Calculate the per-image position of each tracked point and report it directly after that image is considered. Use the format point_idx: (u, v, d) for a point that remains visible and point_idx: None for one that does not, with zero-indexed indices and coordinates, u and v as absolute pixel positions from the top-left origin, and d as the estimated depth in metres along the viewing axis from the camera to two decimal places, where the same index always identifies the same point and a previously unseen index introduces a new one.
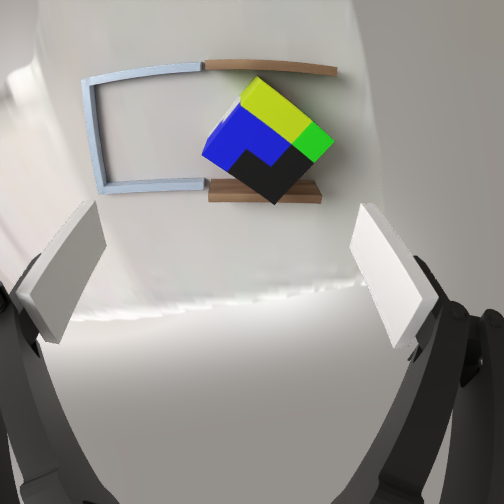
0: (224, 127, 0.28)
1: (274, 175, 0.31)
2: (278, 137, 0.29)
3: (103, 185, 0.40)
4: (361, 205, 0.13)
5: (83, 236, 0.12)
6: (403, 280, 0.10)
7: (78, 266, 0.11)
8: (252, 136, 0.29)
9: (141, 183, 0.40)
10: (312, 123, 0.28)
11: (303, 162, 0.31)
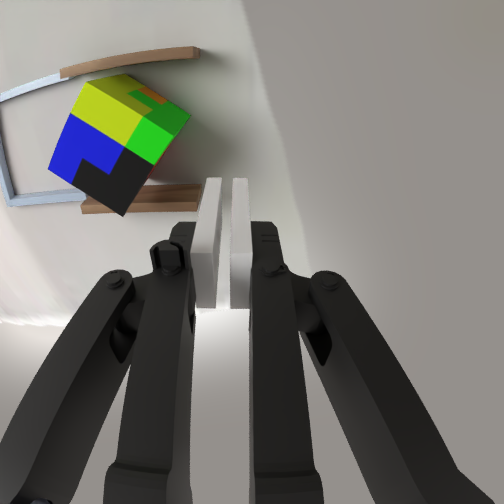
0: (60, 138, 0.22)
1: (114, 183, 0.26)
2: (110, 141, 0.23)
3: (9, 198, 0.34)
4: (233, 180, 0.15)
5: (219, 208, 0.14)
6: None
7: (218, 235, 0.14)
8: (85, 143, 0.23)
9: (36, 196, 0.34)
10: (143, 118, 0.22)
11: (142, 166, 0.25)
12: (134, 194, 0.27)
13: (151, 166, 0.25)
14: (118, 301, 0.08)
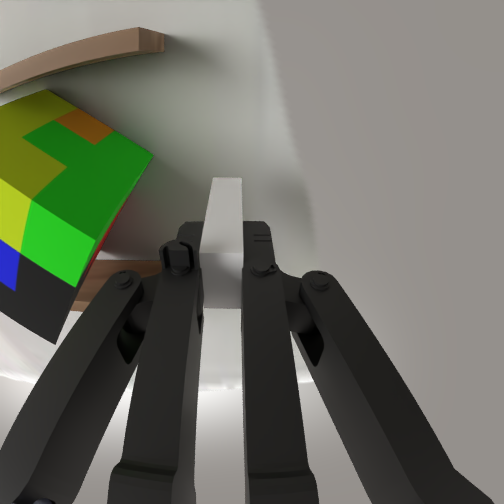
0: None
1: (26, 304, 0.13)
2: None
3: None
4: None
5: None
6: None
7: None
8: None
9: None
10: (33, 204, 0.09)
11: (56, 286, 0.12)
12: (60, 322, 0.14)
13: (71, 288, 0.12)
14: (126, 302, 0.08)
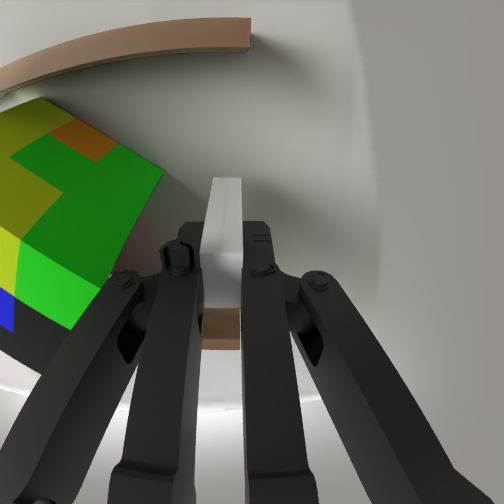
0: None
1: (27, 346, 0.11)
2: None
3: None
4: None
5: None
6: None
7: None
8: None
9: None
10: (24, 245, 0.07)
11: (59, 333, 0.10)
12: None
13: None
14: (127, 302, 0.08)
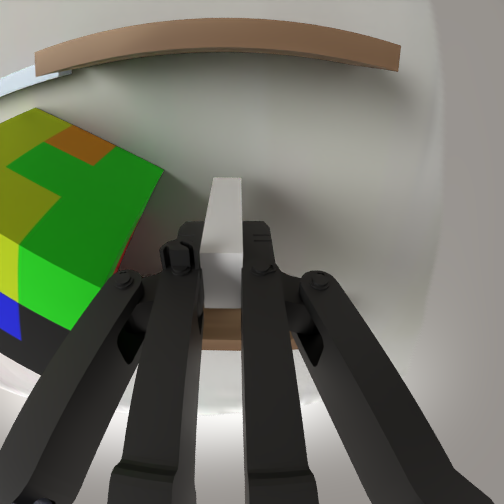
0: None
1: (36, 353, 0.11)
2: None
3: None
4: None
5: None
6: None
7: None
8: None
9: None
10: (22, 250, 0.07)
11: (65, 337, 0.10)
12: None
13: None
14: (127, 302, 0.08)
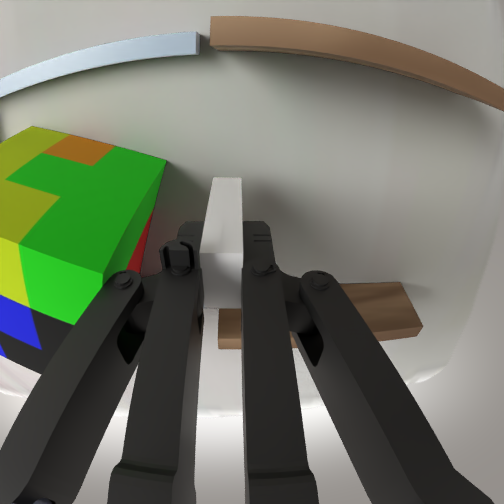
0: None
1: None
2: (5, 301, 0.09)
3: None
4: None
5: None
6: None
7: None
8: None
9: None
10: (22, 249, 0.08)
11: None
12: None
13: None
14: (127, 302, 0.08)
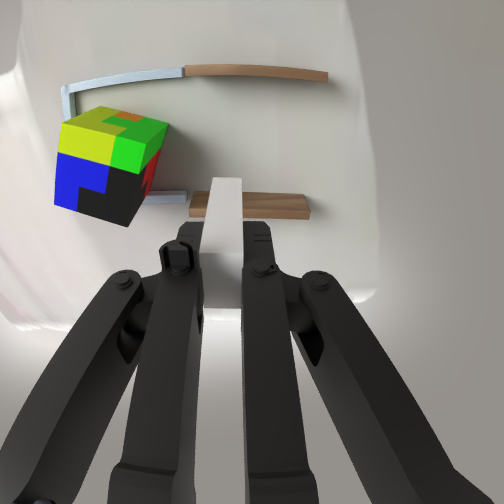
0: (56, 175, 0.27)
1: (111, 200, 0.29)
2: (96, 165, 0.27)
3: None
4: None
5: None
6: None
7: None
8: (77, 173, 0.27)
9: None
10: (116, 137, 0.25)
11: (128, 178, 0.28)
12: (130, 204, 0.30)
13: (136, 175, 0.28)
14: (126, 302, 0.08)
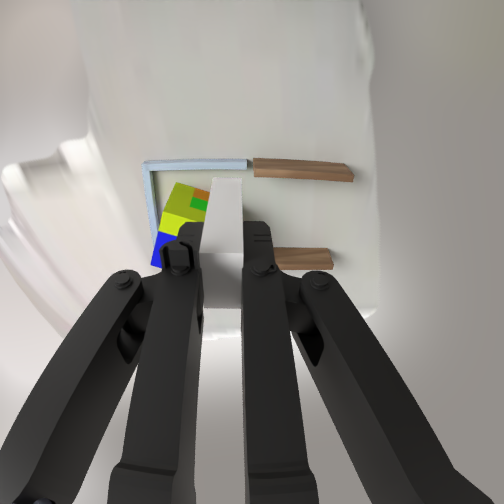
0: (155, 246, 0.42)
1: None
2: None
3: None
4: None
5: None
6: None
7: None
8: None
9: None
10: None
11: None
12: None
13: None
14: (126, 302, 0.08)
